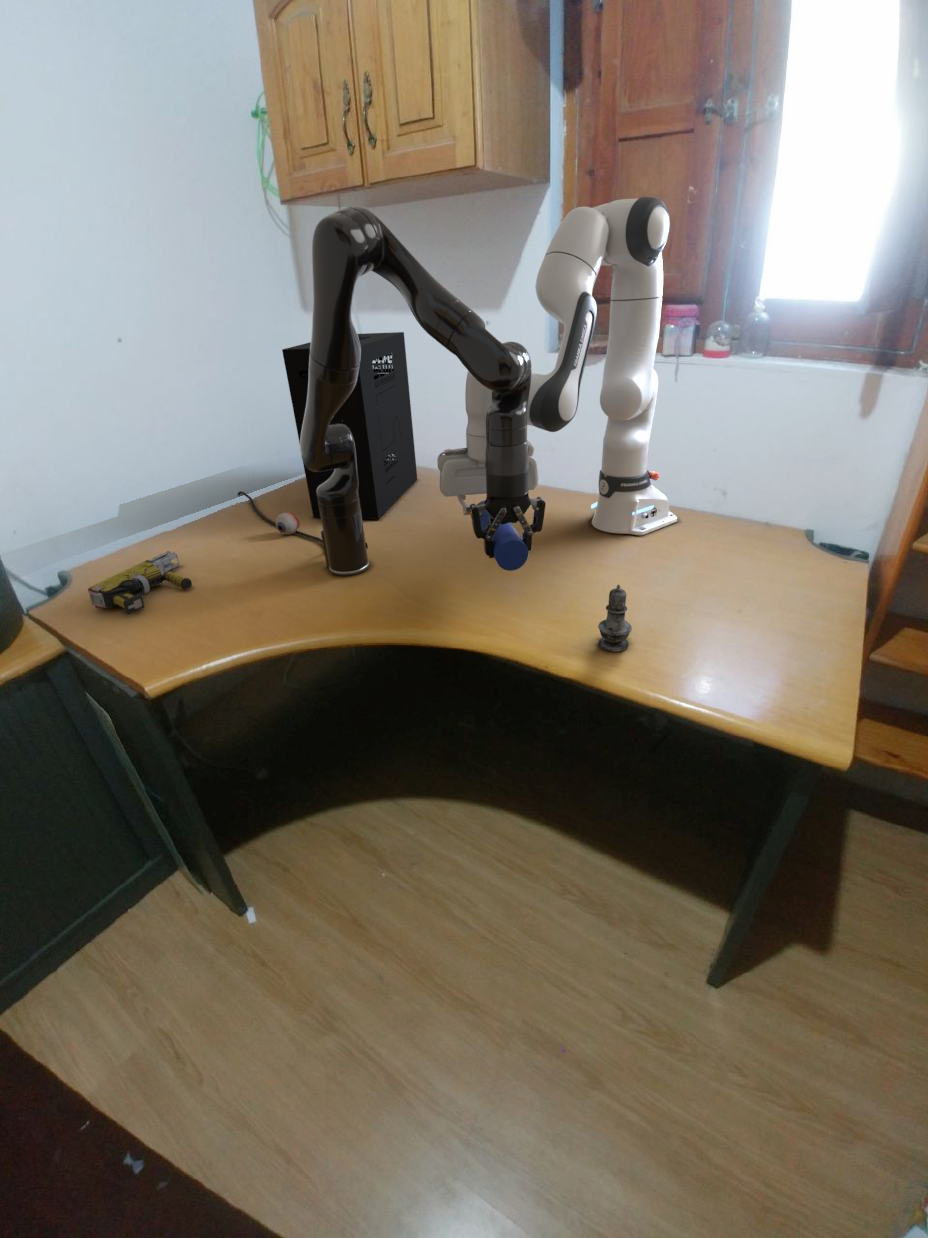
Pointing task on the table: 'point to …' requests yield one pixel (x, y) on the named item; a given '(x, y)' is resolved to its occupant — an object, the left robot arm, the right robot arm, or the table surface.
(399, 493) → the cardboard box
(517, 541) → the rod
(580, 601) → the table surface
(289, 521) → the eyeball
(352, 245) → the left robot arm
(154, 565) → the toy gun
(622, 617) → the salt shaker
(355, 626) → the table surface
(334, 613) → the table surface
